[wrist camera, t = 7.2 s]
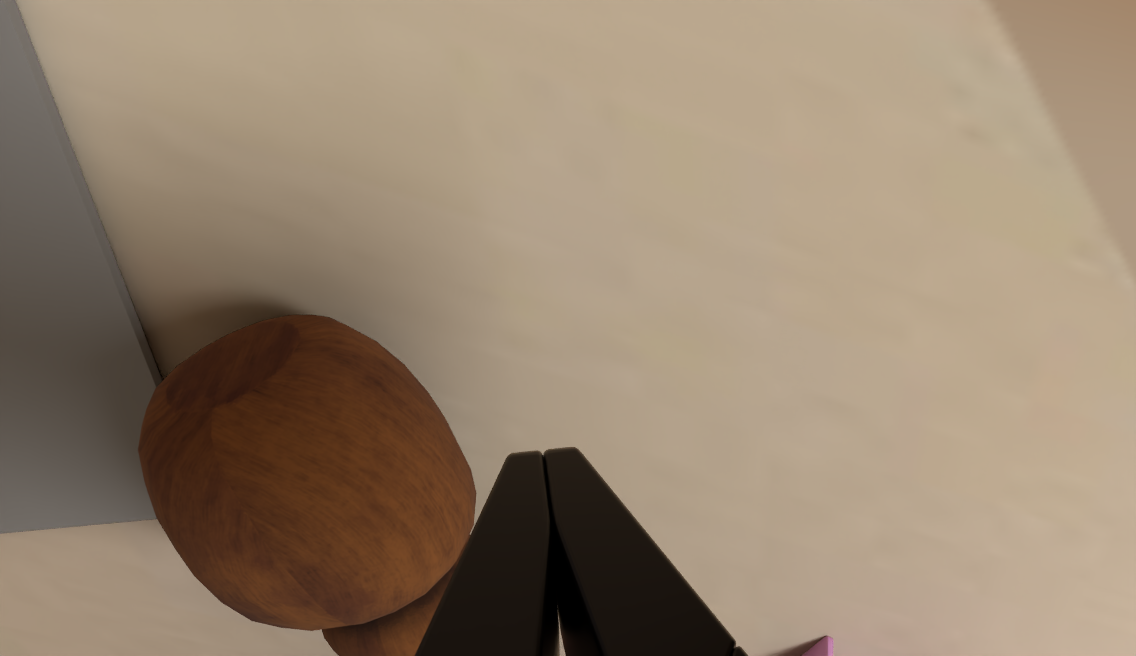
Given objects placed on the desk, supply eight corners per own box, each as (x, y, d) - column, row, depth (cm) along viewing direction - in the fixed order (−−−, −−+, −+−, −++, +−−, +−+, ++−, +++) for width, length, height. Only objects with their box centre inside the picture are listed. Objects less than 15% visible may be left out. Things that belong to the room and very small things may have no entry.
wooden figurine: (146, 328, 19) (396, 630, 28) (32, 504, 15) (374, 800, 23) (391, 252, 18) (569, 589, 27) (352, 415, 14) (581, 757, 23)
